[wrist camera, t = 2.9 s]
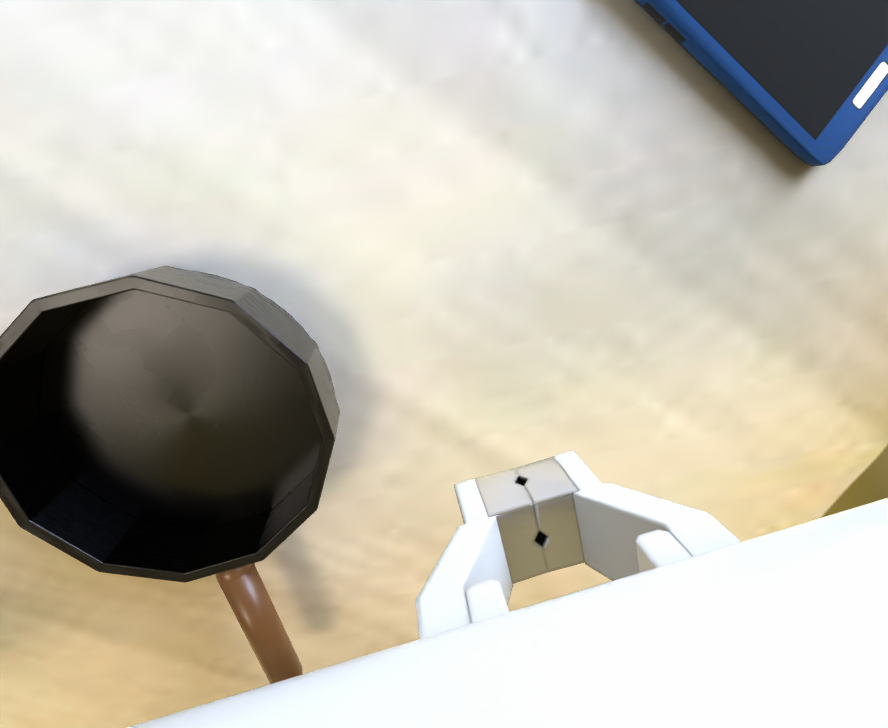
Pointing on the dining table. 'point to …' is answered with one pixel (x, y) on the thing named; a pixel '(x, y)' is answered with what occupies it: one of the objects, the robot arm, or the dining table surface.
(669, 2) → the cell phone
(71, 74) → the dining table surface
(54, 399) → the pan
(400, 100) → the dining table surface
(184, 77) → the dining table surface
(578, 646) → the robot arm
